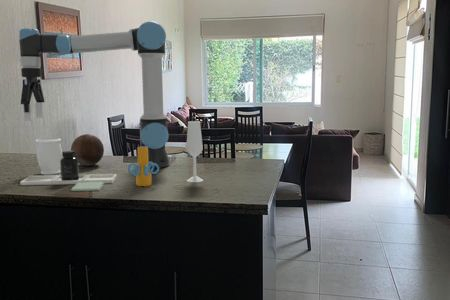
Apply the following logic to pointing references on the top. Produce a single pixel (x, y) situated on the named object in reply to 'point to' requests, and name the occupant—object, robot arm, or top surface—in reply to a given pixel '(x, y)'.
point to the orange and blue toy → (143, 168)
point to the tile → (87, 186)
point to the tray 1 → (38, 180)
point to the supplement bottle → (69, 166)
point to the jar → (49, 155)
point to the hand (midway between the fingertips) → (34, 119)
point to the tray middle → (59, 181)
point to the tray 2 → (100, 178)
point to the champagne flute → (194, 145)
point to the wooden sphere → (88, 149)
